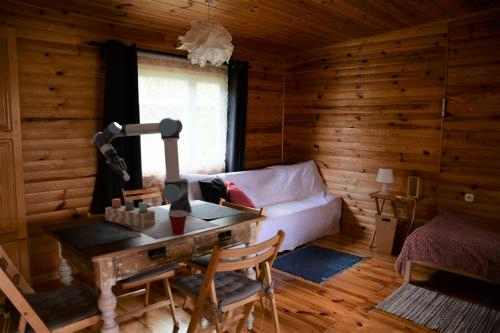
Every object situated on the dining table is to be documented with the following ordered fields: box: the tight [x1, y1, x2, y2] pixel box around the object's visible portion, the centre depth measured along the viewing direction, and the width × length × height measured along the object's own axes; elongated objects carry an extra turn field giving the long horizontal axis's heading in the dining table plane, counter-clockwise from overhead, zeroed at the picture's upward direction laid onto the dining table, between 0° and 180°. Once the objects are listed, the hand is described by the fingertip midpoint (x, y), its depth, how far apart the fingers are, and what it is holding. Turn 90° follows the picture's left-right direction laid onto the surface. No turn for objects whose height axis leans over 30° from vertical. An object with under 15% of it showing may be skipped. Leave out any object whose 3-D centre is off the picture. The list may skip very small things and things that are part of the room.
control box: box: [105, 205, 156, 228], centre depth 232 cm, size 33×10×8 cm, turn 59°
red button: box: [111, 198, 122, 208], centre depth 237 cm, size 5×5×5 cm
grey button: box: [124, 200, 135, 210], centre depth 231 cm, size 5×5×5 cm
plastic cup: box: [167, 211, 189, 236], centre depth 206 cm, size 11×11×12 cm
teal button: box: [138, 201, 149, 212], centre depth 225 cm, size 5×5×5 cm
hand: (128, 179), depth 236 cm, fingers closed
